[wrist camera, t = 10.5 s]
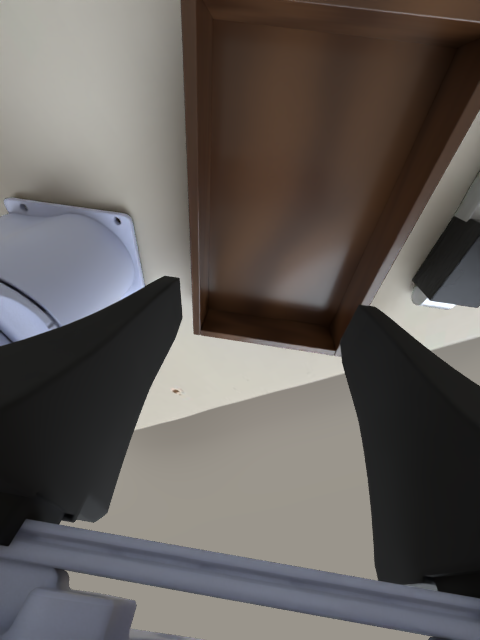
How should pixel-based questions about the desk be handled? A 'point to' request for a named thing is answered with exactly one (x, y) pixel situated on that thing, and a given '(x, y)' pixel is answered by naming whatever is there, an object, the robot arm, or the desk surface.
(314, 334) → the tray
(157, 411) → the desk surface
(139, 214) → the desk surface
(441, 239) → the tongs
